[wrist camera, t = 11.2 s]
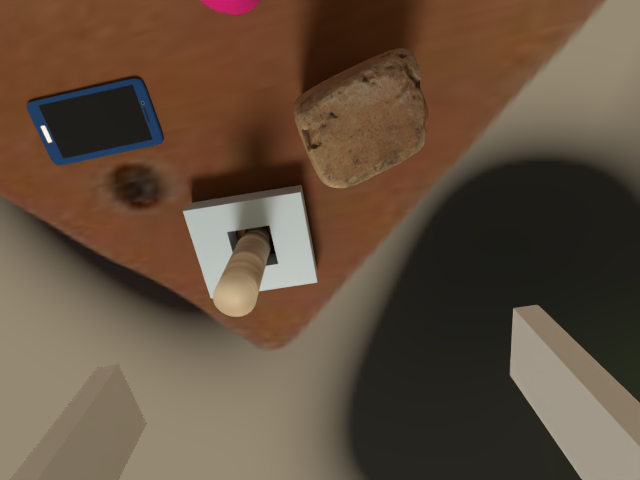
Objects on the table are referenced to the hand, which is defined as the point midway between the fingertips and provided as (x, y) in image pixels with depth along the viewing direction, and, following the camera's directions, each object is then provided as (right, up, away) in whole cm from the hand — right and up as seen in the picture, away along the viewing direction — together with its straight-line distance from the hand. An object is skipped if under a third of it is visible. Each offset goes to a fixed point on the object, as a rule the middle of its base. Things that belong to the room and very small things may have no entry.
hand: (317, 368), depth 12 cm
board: (-8, +5, +36) cm, 37 cm away
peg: (-8, +5, +36) cm, 37 cm away
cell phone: (-26, +18, +30) cm, 44 cm away
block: (+3, +20, +30) cm, 36 cm away
